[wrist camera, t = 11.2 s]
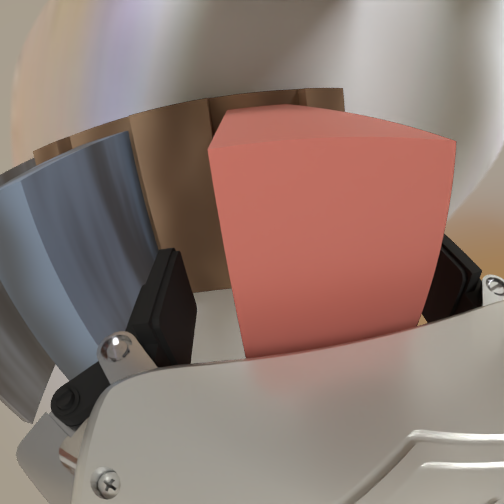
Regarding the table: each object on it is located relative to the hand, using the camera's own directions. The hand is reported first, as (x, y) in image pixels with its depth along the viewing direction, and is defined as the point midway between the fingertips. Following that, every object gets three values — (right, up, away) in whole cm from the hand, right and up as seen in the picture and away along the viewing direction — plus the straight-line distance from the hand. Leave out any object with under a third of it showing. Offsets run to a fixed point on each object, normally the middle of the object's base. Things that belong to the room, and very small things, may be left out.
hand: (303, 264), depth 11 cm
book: (-1, +5, +9) cm, 11 cm away
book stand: (-7, +5, +10) cm, 13 cm away
